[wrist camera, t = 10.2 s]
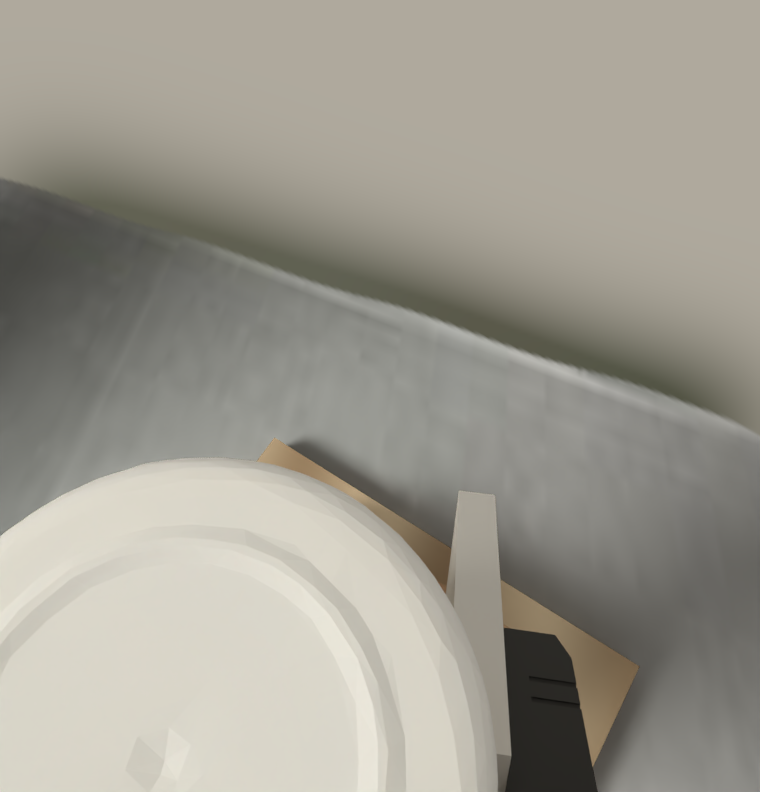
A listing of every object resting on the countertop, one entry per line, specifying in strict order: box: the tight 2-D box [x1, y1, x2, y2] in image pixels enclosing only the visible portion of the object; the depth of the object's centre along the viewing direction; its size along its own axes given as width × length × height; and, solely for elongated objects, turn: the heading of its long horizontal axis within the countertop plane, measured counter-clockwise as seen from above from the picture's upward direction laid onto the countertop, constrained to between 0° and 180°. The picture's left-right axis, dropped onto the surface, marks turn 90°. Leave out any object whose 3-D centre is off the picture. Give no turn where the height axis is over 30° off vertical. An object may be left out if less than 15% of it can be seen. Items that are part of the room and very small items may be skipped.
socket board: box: [257, 438, 639, 767], centre depth 23 cm, size 16×13×4 cm
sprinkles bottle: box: [0, 457, 498, 792], centre depth 11 cm, size 5×5×13 cm
